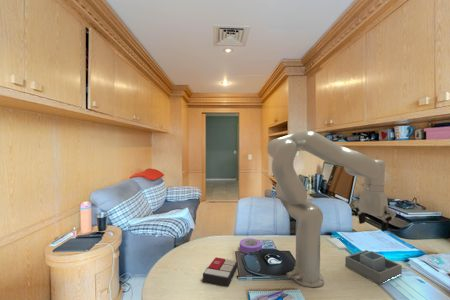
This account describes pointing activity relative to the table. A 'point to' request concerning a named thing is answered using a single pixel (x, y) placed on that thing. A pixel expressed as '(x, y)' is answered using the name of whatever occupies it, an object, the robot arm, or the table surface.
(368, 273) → the grey crate
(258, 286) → the table surface
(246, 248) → the masking tape
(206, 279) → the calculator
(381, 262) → the grey block
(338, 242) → the hard drive
